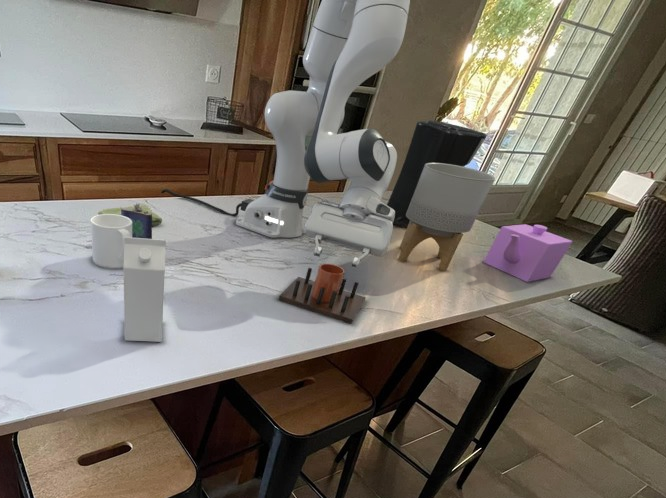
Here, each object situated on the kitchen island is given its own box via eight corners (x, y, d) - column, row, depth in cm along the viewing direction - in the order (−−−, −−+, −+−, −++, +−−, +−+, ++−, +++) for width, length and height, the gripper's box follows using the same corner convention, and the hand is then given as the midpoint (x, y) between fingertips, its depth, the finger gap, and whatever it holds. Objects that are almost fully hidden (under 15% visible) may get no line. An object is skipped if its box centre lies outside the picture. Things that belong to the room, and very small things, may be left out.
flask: (119, 240, 123) (119, 201, 116) (124, 237, 125) (124, 199, 119) (149, 248, 121) (150, 208, 115) (153, 244, 124) (155, 206, 117)
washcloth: (96, 216, 137) (95, 206, 135) (147, 213, 145) (148, 203, 143) (110, 231, 128) (109, 220, 126) (164, 227, 136) (164, 216, 134)
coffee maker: (453, 226, 173) (497, 130, 152) (420, 240, 153) (465, 132, 133) (401, 209, 184) (435, 118, 164) (363, 220, 165) (397, 118, 144)
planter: (379, 248, 141) (411, 162, 125) (421, 245, 148) (456, 163, 132) (421, 273, 128) (463, 179, 112) (465, 268, 135) (510, 180, 119)
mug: (85, 257, 112) (83, 216, 106) (119, 250, 117) (119, 212, 111) (110, 275, 105) (108, 233, 99) (145, 268, 110) (145, 228, 104)
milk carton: (126, 322, 89) (125, 230, 77) (161, 323, 90) (165, 233, 78) (124, 341, 83) (122, 245, 72) (161, 342, 84) (165, 247, 73)
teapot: (469, 264, 139) (491, 220, 131) (514, 257, 150) (538, 216, 141) (513, 284, 129) (540, 238, 120) (558, 275, 140) (586, 232, 131)
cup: (308, 297, 105) (316, 269, 100) (315, 288, 109) (323, 261, 104) (332, 304, 103) (341, 276, 98) (338, 295, 107) (347, 268, 103)
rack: (278, 299, 104) (283, 280, 101) (297, 280, 115) (302, 262, 111) (351, 324, 99) (358, 303, 96) (364, 301, 109) (371, 282, 106)
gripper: (316, 191, 104) (293, 242, 103) (402, 212, 98) (378, 266, 97) (317, 206, 110) (295, 254, 109) (397, 227, 104) (375, 278, 103)
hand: (335, 260), depth 103 cm, fingers open, 8 cm apart
